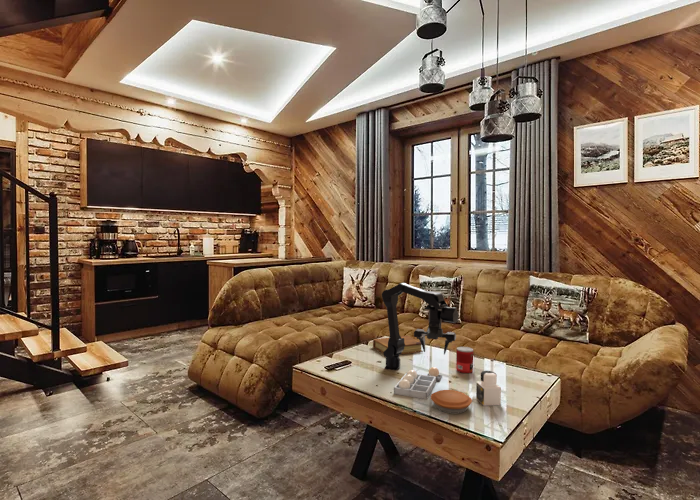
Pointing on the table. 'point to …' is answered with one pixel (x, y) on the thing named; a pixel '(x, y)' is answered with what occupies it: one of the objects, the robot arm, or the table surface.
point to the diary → (409, 347)
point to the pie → (451, 401)
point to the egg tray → (417, 387)
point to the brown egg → (433, 372)
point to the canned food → (464, 359)
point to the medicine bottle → (488, 389)
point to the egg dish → (437, 377)
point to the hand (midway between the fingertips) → (434, 353)
